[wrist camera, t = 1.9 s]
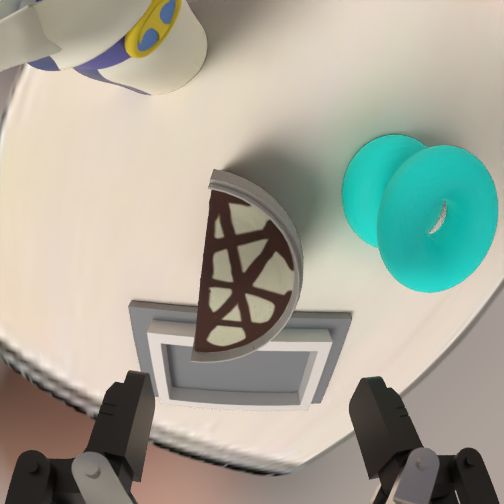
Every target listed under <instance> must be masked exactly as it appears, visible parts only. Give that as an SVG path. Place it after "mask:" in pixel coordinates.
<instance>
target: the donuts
mask: <svg viewBox="0 0 504 504" xmlns="http://www.w3.org/2000/svg"><path fill="white" fill-rule="evenodd" d="M444 201H445V202H446V205H447V213H446V218H445V220H444V222H443V224H442V226H441V227H440V228H439V229H438V230H437V231H436V232H434V233H432V234H428V233H429V232H430V231H431V230H432V229H433V227H434V226H435V224H436V223H437V221H438V219H439V217H440V215H441V212H442V209H443V206H444ZM342 203H343V209H344V213H345V216H346V218H347V221H348V223H349V225H350V226H351V228H352V229H353V231H354V232H355V233H356V234H357V235H358V236H359V237H360V238H361V239H362V240H363V241H365V242H366V243H368V244H370V245H372V246H374V247H377V248H379V251H380V254H381V257H382V259H383V262H384V264H385V266H386V268H387V269H388V271H389V272H390V273H391V274H392V276H393V277H394V278H395V279H396V280H397V281H398V282H400V283H401V284H402V285H404V286H406V287H408V288H410V289H412V290H415V291H418V292H427V293H433V292H440V291H444V290H447V289H449V288H451V287H453V286H455V285H457V284H459V283H461V282H462V281H464V280H465V279H466V278H467V277H468V276H470V275H471V274H472V273H473V272H474V271H475V270H476V268H477V267H478V266H479V265H480V263H481V262H482V261H483V259H484V258H485V256H486V254H487V252H488V250H489V248H490V246H491V244H492V241H493V238H494V235H495V231H496V227H497V221H498V199H497V193H496V189H495V185H494V182H493V180H492V178H491V176H490V174H489V172H488V170H487V169H486V167H485V166H484V165H483V163H482V162H481V161H480V160H479V159H478V158H477V157H475V156H474V155H473V154H471V153H470V152H468V151H466V150H464V149H462V148H459V147H455V146H451V145H439V146H432V147H429V148H428V147H426V146H425V145H424V144H422V143H421V142H419V141H418V140H416V139H414V138H411V137H408V136H404V135H386V136H382V137H379V138H377V139H375V140H373V141H371V142H369V143H368V144H366V145H365V146H364V147H362V148H361V149H360V150H359V151H358V153H357V154H356V155H355V156H354V158H353V159H352V161H351V162H350V164H349V166H348V168H347V170H346V173H345V176H344V180H343V186H342Z"/></svg>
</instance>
